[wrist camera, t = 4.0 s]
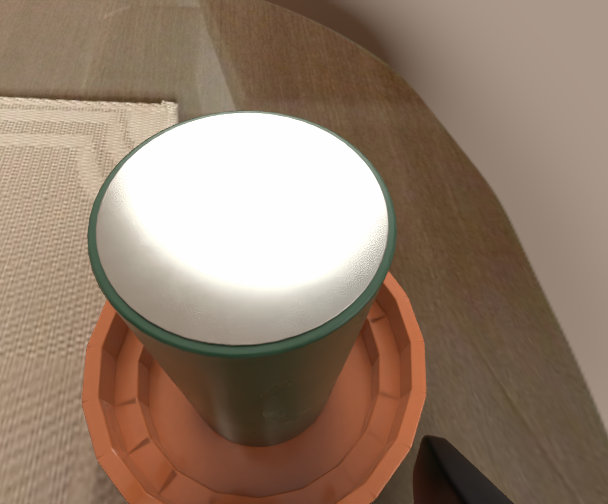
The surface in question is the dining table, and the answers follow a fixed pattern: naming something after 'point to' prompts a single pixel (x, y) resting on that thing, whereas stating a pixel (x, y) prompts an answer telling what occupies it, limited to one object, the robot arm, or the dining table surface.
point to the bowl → (246, 459)
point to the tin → (245, 263)
